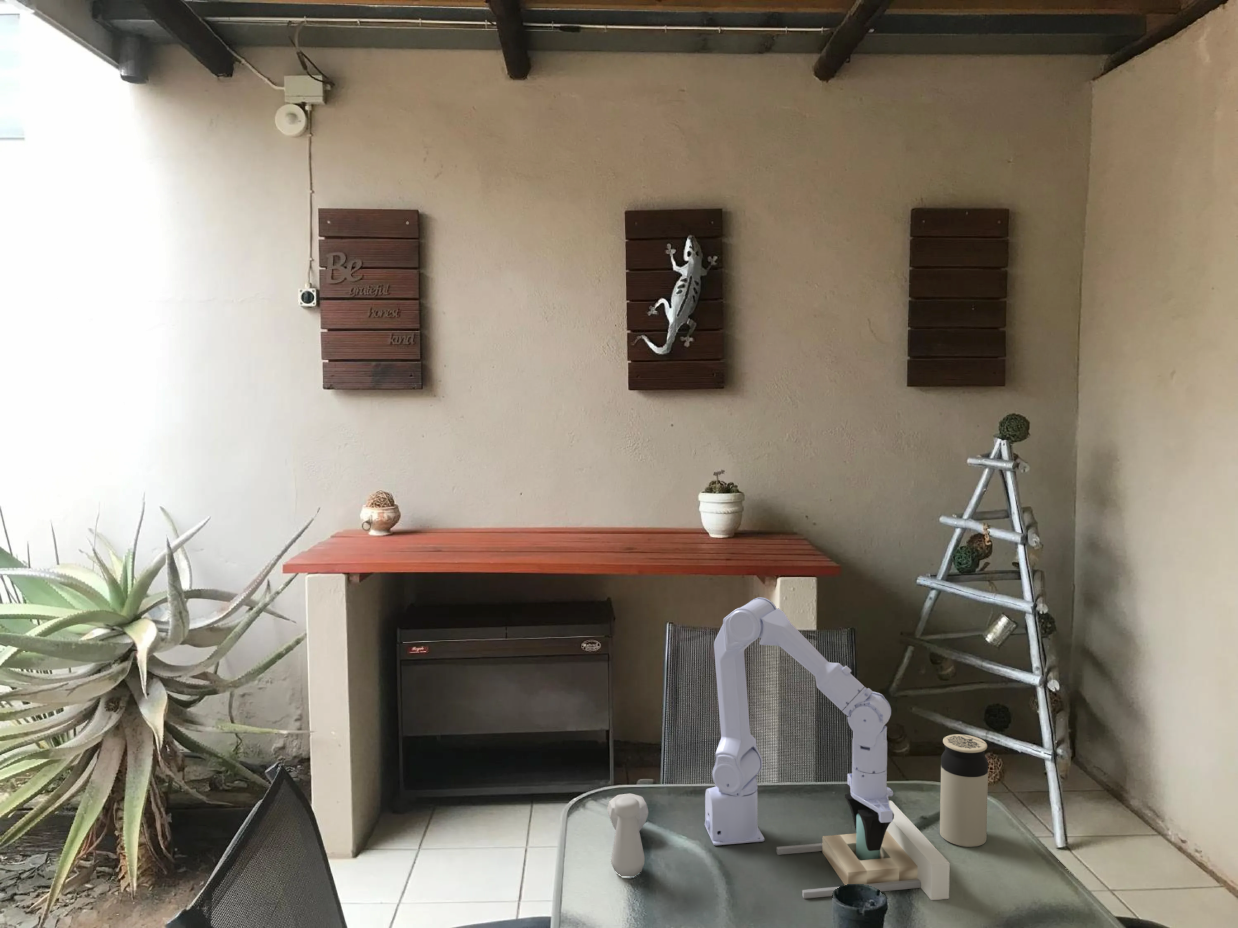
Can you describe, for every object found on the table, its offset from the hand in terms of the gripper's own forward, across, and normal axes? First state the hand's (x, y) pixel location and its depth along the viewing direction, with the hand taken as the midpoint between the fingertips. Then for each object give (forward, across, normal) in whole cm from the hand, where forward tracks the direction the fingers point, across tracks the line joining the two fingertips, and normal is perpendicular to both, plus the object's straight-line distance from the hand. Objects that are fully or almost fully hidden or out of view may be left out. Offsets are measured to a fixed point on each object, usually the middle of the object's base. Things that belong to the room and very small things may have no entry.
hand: (868, 842), depth 157 cm
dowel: (+2, 0, 0) cm, 2 cm away
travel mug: (+5, +7, -21) cm, 23 cm away
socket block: (+4, 0, 0) cm, 4 cm away
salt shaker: (+5, +5, +41) cm, 42 cm away
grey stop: (+4, 0, +2) cm, 5 cm away
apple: (+5, +19, +39) cm, 44 cm away
